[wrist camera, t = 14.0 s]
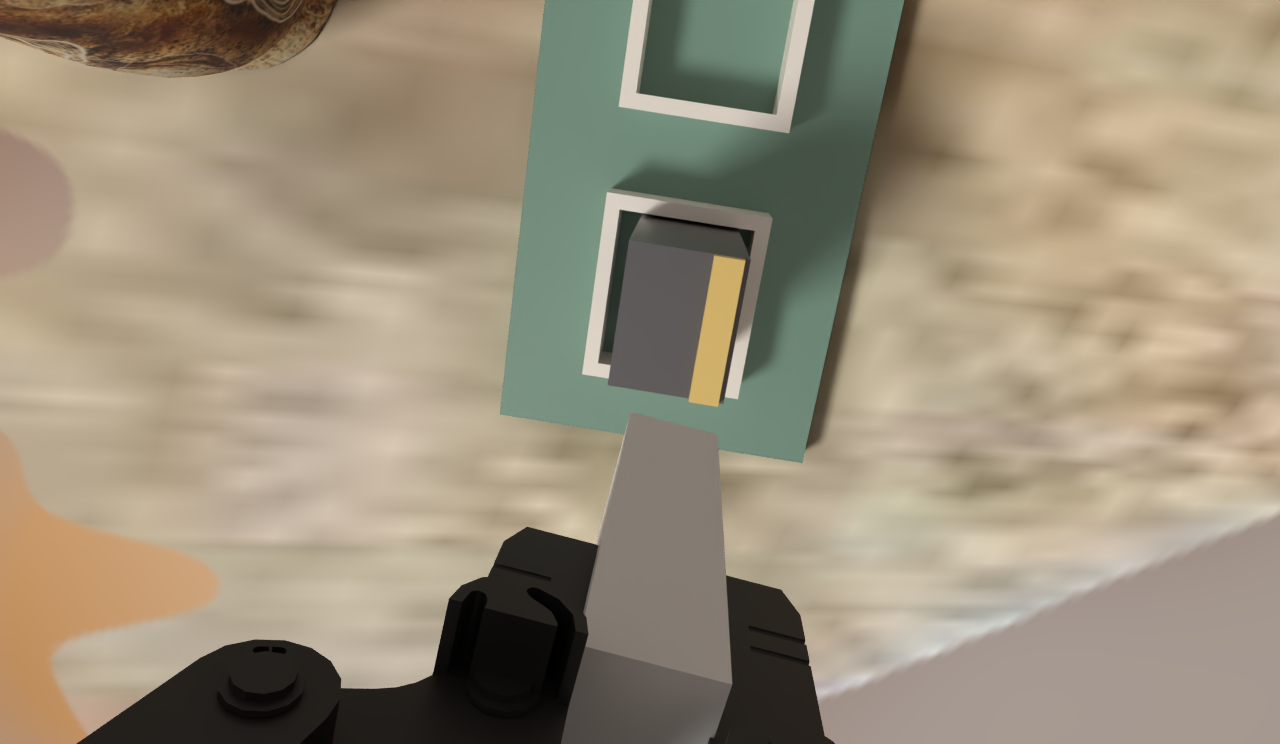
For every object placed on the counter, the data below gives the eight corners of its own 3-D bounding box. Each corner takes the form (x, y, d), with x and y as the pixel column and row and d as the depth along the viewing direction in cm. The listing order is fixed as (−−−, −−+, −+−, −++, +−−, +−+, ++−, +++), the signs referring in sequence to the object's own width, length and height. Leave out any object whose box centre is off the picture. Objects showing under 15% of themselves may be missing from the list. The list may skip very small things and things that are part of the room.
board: (568, -167, 34) (556, -195, 31) (922, -113, 34) (946, -136, 31) (505, 405, 41) (490, 429, 38) (799, 453, 41) (807, 480, 38)
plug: (643, 211, 37) (628, 242, 28) (736, 226, 37) (751, 261, 28) (626, 324, 38) (606, 388, 29) (716, 339, 38) (723, 407, 29)
